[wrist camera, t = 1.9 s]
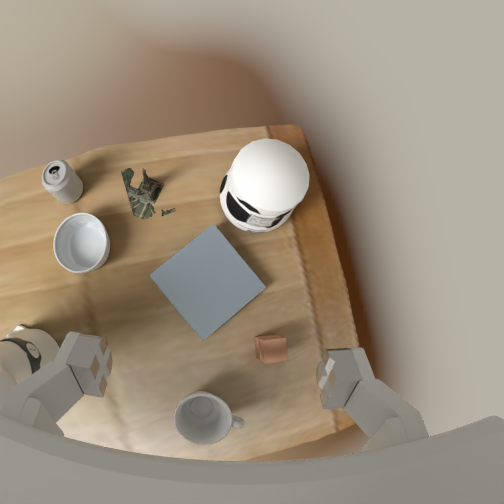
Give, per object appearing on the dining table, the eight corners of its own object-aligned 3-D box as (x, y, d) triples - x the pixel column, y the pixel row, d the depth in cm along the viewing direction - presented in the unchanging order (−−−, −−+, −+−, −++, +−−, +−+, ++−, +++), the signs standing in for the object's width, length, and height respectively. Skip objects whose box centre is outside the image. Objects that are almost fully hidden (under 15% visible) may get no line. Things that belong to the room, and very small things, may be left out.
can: (82, 172, 69) (66, 152, 57) (86, 199, 68) (70, 182, 57) (56, 182, 67) (38, 163, 56) (60, 209, 67) (40, 193, 55)
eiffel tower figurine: (120, 171, 72) (109, 147, 59) (158, 157, 74) (154, 130, 61) (137, 226, 71) (127, 210, 58) (177, 211, 73) (175, 192, 60)
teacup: (233, 433, 67) (239, 450, 57) (171, 422, 64) (169, 438, 55) (243, 388, 69) (252, 401, 59) (180, 376, 67) (179, 387, 57)
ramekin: (57, 265, 65) (45, 261, 58) (74, 213, 67) (65, 205, 61) (104, 283, 67) (96, 281, 60) (121, 228, 69) (115, 221, 63)
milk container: (262, 157, 79) (281, 121, 61) (301, 213, 78) (331, 189, 61) (204, 190, 74) (209, 157, 57) (244, 250, 74) (261, 234, 57)
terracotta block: (277, 354, 72) (287, 360, 64) (256, 357, 71) (264, 363, 63) (275, 334, 72) (285, 337, 65) (254, 336, 71) (262, 340, 64)
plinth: (202, 338, 69) (203, 340, 65) (151, 276, 69) (149, 275, 65) (262, 288, 73) (266, 287, 70) (212, 227, 73) (213, 223, 69)
